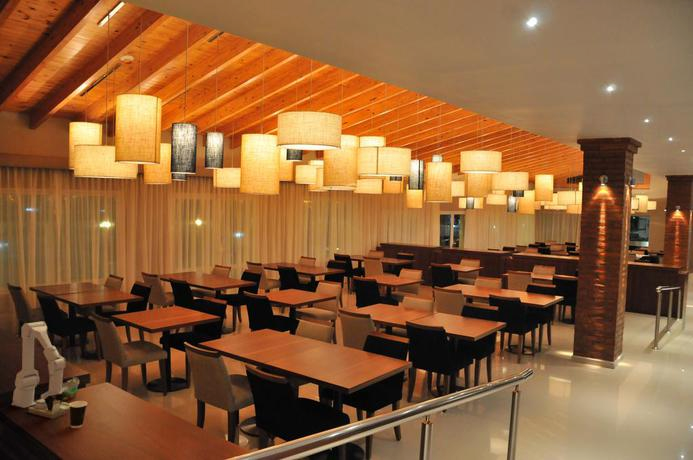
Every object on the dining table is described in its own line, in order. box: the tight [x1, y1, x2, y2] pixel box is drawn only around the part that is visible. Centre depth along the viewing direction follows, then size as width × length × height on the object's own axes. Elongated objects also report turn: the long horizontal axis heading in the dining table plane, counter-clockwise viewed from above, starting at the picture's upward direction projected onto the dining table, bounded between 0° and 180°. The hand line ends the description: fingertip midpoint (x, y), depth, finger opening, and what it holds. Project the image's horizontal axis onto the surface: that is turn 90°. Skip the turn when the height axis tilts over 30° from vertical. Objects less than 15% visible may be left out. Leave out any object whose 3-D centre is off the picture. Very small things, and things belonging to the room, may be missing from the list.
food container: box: [62, 376, 80, 401], centre depth 288 cm, size 12×6×10 cm, turn 179°
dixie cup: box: [69, 400, 88, 429], centre depth 253 cm, size 8×8×11 cm
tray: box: [60, 401, 70, 411], centre depth 273 cm, size 12×10×1 cm
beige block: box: [34, 398, 47, 410], centre depth 266 cm, size 4×4×6 cm
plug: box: [47, 399, 60, 413], centre depth 263 cm, size 4×4×6 cm
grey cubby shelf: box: [28, 405, 67, 420], centre depth 265 cm, size 16×8×3 cm, turn 71°
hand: (53, 409), depth 263 cm, fingers closed on plug, 4 cm apart
